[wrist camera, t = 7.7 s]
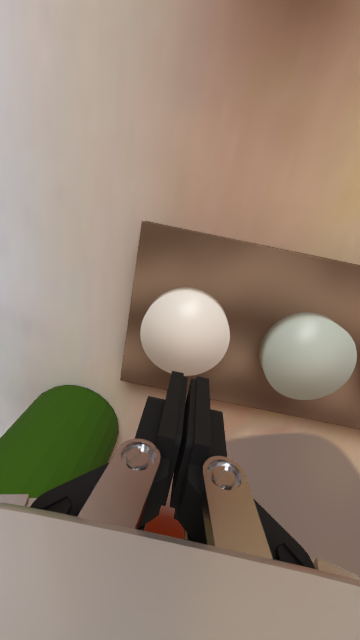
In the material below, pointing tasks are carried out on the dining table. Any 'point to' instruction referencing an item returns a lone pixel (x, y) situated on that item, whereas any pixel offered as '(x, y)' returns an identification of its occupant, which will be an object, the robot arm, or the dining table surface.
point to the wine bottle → (57, 441)
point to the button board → (245, 312)
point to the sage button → (307, 356)
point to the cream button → (185, 331)
